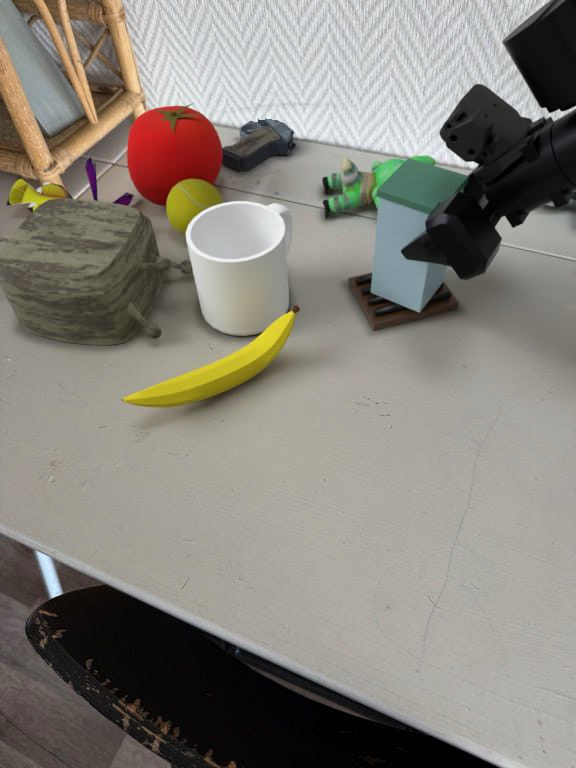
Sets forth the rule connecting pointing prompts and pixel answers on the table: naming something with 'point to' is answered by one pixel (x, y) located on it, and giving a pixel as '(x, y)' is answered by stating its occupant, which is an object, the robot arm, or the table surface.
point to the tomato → (171, 151)
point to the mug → (241, 264)
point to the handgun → (258, 144)
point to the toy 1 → (55, 191)
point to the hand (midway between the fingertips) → (423, 228)
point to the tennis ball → (190, 202)
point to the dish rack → (391, 313)
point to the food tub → (409, 231)
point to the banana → (219, 370)
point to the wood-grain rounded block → (84, 272)
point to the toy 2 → (361, 183)
